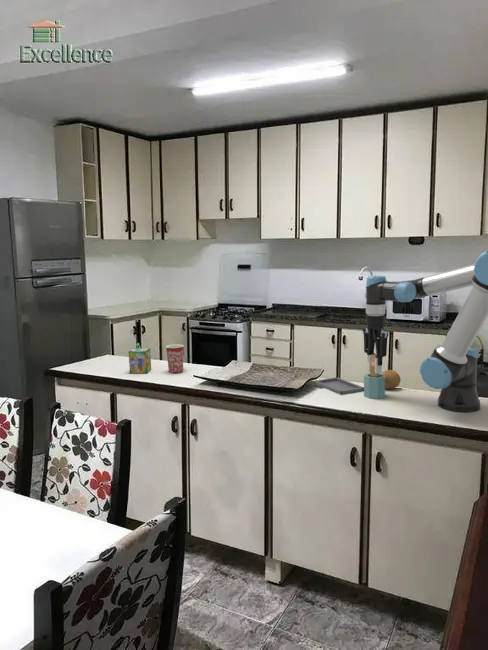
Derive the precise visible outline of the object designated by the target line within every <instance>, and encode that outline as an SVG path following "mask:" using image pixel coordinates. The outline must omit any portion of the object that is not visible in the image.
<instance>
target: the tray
mask: <svg viewBox="0 0 488 650" xmlns="http://www.w3.org/2000/svg"><path fill="white" fill-rule="evenodd" d="M314 387H316V388H319V389H326V390H328V391H331V392H333V393H335V394H337V395H340V396H342V395H349V394H354V393H360V392H364V386H361V385H358V384H356V383H353V382H351V381H348V380H345V379H342V378H340V377H330V378H325V379H317V380H316V379H315V380H314Z"/></svg>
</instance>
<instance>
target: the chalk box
mask: <svg viewBox="0 0 488 650" xmlns="http://www.w3.org/2000/svg"><path fill="white" fill-rule="evenodd" d="M135 346H136V348H132V349H130V350H129V351H128V352H127V353H128V363H129V364H128V366H129V374H132V373H133V374H148V373H149V372H150V371H151V370H152V360H151V359H152V357H151V356H152V355H151V348H148V347H147V348H145V347H142V348H141V345H140V342H137V343H136V345H135ZM133 374H132V375H133Z"/></svg>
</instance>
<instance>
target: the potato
mask: <svg viewBox="0 0 488 650" xmlns="http://www.w3.org/2000/svg"><path fill="white" fill-rule="evenodd" d="M380 374H383V375H385V390H394V389H396V388H397V387H399V386H400V384H401V376H400V374H398V372H397V371H396V370H394V369H387V370H385V371H383V372H382V373H380Z"/></svg>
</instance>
